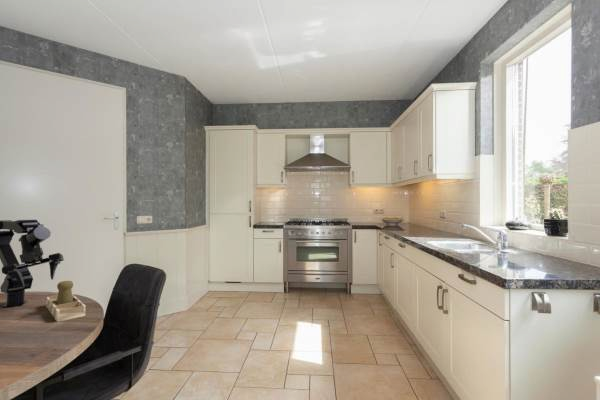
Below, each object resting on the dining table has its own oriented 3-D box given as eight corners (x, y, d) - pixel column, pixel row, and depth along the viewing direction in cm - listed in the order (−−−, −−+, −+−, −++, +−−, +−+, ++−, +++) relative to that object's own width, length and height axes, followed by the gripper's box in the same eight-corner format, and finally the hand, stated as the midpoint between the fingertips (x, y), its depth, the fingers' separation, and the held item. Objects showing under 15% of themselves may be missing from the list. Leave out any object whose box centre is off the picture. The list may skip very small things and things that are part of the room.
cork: (76, 304, 126) (77, 279, 126) (69, 309, 120) (70, 282, 120) (59, 306, 124) (60, 279, 124) (52, 311, 118) (52, 283, 118)
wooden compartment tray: (45, 306, 127) (46, 296, 127) (70, 301, 133) (71, 292, 133) (57, 321, 110) (57, 311, 110) (85, 315, 117) (85, 305, 117)
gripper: (-7, 250, 113) (-1, 290, 110) (54, 237, 123) (62, 273, 120) (4, 255, 122) (10, 292, 119) (60, 242, 132) (67, 276, 129)
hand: (38, 283), depth 122 cm, fingers open, 9 cm apart
